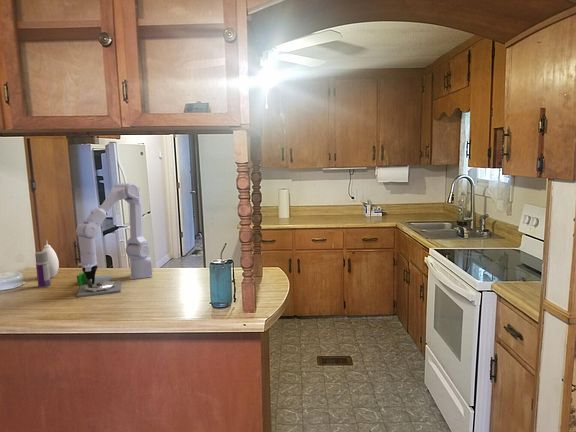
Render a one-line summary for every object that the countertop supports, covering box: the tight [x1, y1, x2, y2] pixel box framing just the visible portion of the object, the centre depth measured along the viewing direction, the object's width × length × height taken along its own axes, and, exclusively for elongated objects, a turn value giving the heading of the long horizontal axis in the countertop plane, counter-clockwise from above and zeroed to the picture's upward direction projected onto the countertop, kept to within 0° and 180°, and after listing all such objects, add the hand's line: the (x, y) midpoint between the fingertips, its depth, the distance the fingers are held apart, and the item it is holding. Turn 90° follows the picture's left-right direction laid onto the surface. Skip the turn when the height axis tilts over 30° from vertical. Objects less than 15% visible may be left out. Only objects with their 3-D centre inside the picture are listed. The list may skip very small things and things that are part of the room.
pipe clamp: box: [76, 271, 88, 287], centre depth 183 cm, size 11×4×5 cm, turn 1°
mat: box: [95, 275, 112, 282], centre depth 185 cm, size 7×13×1 cm, turn 22°
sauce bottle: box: [41, 239, 60, 279], centre depth 190 cm, size 8×8×18 cm
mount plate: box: [76, 280, 122, 298], centre depth 171 cm, size 16×15×1 cm
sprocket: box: [84, 279, 116, 292], centre depth 171 cm, size 12×12×4 cm
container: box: [34, 251, 52, 289], centre depth 177 cm, size 5×5×15 cm
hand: (91, 284), depth 169 cm, fingers closed, pressing on sprocket
